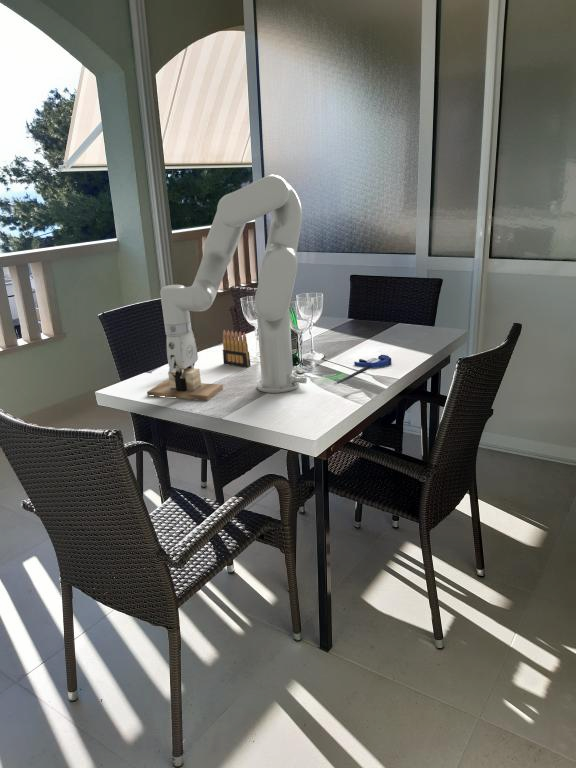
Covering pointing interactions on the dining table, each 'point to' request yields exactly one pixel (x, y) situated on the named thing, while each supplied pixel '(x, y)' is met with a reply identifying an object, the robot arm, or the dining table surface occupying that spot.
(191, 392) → the board
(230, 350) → the ammunition clip
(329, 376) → the dining table surface
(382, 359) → the bar clamp
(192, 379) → the block
